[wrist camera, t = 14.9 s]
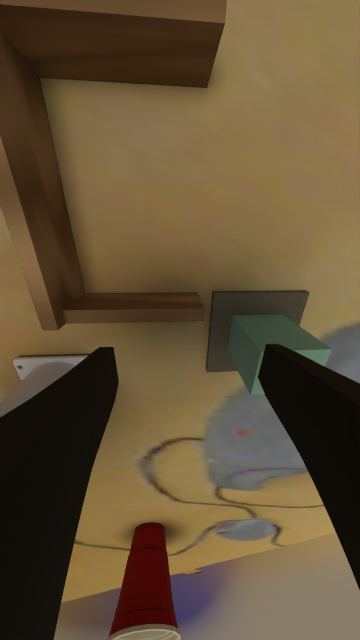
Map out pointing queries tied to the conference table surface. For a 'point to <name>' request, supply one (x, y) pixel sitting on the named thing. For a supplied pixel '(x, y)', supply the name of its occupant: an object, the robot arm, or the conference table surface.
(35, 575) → the robot arm
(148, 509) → the conference table surface
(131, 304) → the wooden fixture
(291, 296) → the mat
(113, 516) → the conference table surface
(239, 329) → the block
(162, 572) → the plastic cup
